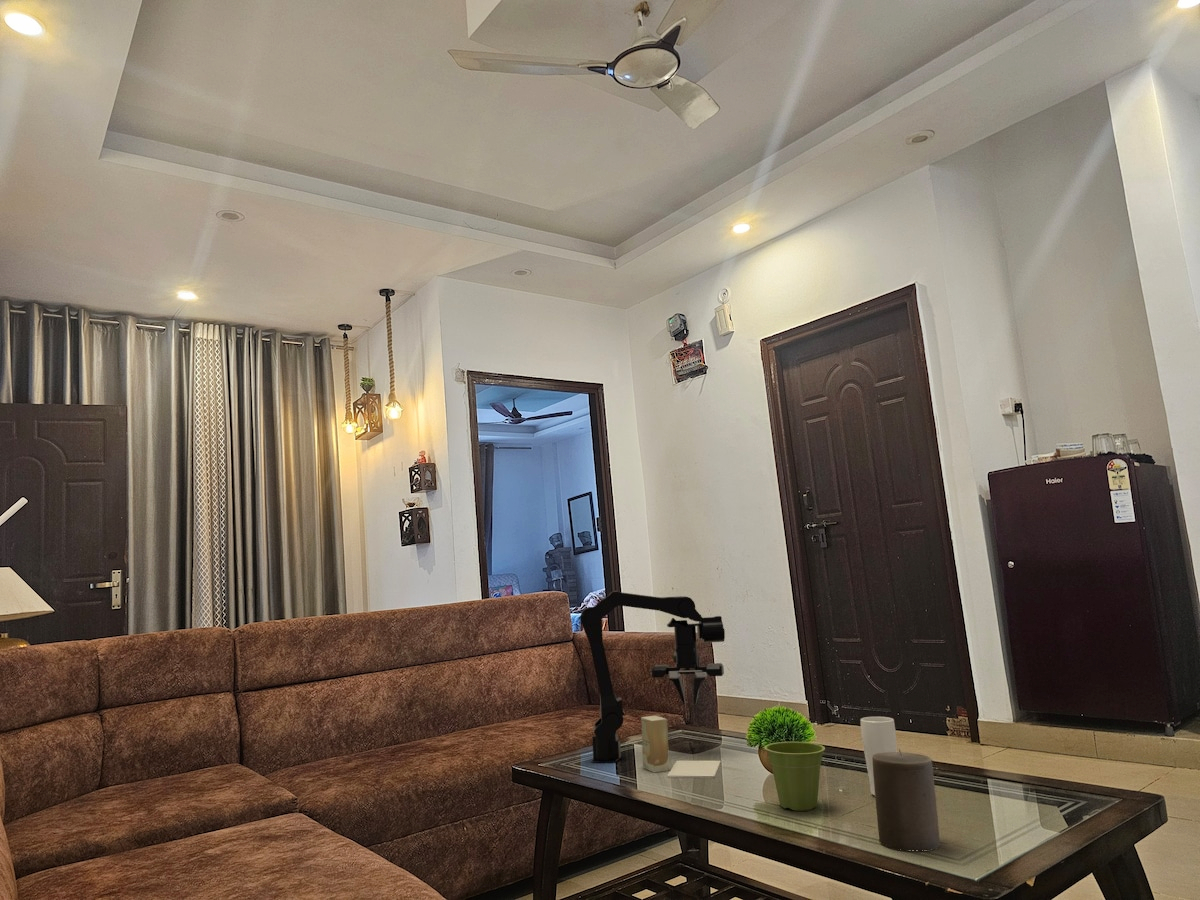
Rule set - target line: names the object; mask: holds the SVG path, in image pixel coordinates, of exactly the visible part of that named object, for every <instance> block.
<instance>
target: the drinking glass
mask: <svg viewBox="0 0 1200 900" xmlns="http://www.w3.org/2000/svg"><path fill="white" fill-rule="evenodd" d="M859 720H860V733H861V741H862V747H863V753H864V757H865V765H866V768H867V775H868V781H869V788H870V794H871V795H872V794H873V795H875V787H874V776H873V760H872V757H873V755H874V754H877V753H883V752H898V747H897V732H896V731H897V730H896V725H895V719H894V718H892V717H887V716H866V717H862V718H860V719H859ZM873 795H872V796H873Z"/></svg>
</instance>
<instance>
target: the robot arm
mask: <svg viewBox="0 0 1200 900" xmlns="http://www.w3.org/2000/svg"><path fill="white" fill-rule="evenodd" d="M618 606H621V607H630V608H637V609H643V610H652V611H659V612H662V613H666V614H668V615H672V616H675V617H678V618H681V620H677V619H675V618H674V617H672V618H671V619H670V621H669V622H668V623H667V624H666V626H667V628H673V629H674V642H675V643H674V645H675V651H674V652H673V663H674V665H676V666H675V667H674V666H673V667H672V666H671V667H670V665H669V664H656V665H654V666H653V667H652V668H651V678H655V679H656V678H664V677H665V676H667V675H668V681H670V682H672V683H673V685H674V687H675V688H676V690H677V692H678V694H679V697H680V699H681V702H682V704H683V705H686V695H685V689H684V683H683V676H682V675H690V674H691V675H695V677H694V678H693V704H694V705H697V702H698V698H699V695H700V694H699V692H700V689H701V686H702V683H703V681H706V680H707V679H708V676H709V677H723V675H725V671H724V670H725V668H724V665H723V663H721V662H720V663H715V662H713V663H707V664H706V666H701V665H700V655H699V653H698V645H697V640H701V641H702V643H703V644H705V643H721V642H722V643H724V642H725V639H726V638H725V635H726V634H725V633H726V631H725V628H724V623H723V618H722V616H721V615H715V616H712V617H710V616H707V617H703V616H702V614H700V613H699V612H698V611H697V609H696V604H695V601H694V600H693V599H692V598H691V597H689V596H678V595H677V596H664V597H662V596H661V597H658V596H653V595H644V594H636V593H628V592H623V591H622V592H621V591H619V590H614V591H613V590H612V591H611V592H610V593H609V594H608V595H607V596H606V597H604V598H603V599H602V600H601V601H599V602H598V603H597V604H596V605H594V606H589V607H585V608H584V609H583V610H582V612H581V613H580V615H579V616H580V618H579V619H580V623H581V626H582V629H583V630H584V631H583V632H584V633H585V636H586V638H587V641H588V644H589V647H590V651H591V657H592V661H593V666H594V667H593V668H594V670H595V671H594V672H595V676H596V679H597V685H598V690H599V699H600V702H599V705H600V718H598V720H597V721H596V722H595V723H594V724H593V731H594V732H593V733H594V735H592V738H591V739H592V740H591V741H592V759H591V762H592V761H601V762H600V763H616V762H617V761H619V759H621V757H622V750H621V740H620V739H619V734H618V733H617V731H618V730H619V729H620V728H622V725H623V724H624V717H626V713H625V710H624V707H623V699H622V697H621V696H620V697H616V695H615V692H614V689H613V688H614V687H613V684H612V679H611V675H610V670H609V664H608V661H607V656H606V650H605V647H604V646H605V645H604V641H603V639H604V638H603V637H604V636H603V618H604V617H606V616H607V615H609V614H610V613H612V611H613V610H615V609H616V608H617V607H618ZM683 619H685V620H683ZM686 619H688V620H691V621H693V622H696V623H688V620H686ZM697 622H698V623H697ZM696 627H697V629H696ZM697 638H698V639H697Z"/></svg>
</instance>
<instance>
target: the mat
mask: <svg viewBox="0 0 1200 900" xmlns="http://www.w3.org/2000/svg"><path fill="white" fill-rule="evenodd" d="M721 763H722V761H721V760H676V762H675V763H674V764H673V766H672V768H671V770H669V772H668V774H667V777H666V778H688V779H689V778H693V779H694V778H697V779H700V778H702V779H705V778H706V779H708V778H709V779H712V778H713V779H715V777H716V775H717V772H718V770H719V768H720V766H721Z"/></svg>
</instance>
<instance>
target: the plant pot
mask: <svg viewBox="0 0 1200 900" xmlns="http://www.w3.org/2000/svg"><path fill="white" fill-rule="evenodd" d="M764 750H765V751H767V757H768V759H769V760H768V761H769V763H770V764H771V769H772V774H773V778H774V779H773V780H774V782H775V784H774V785H775V788H776V793H777V797H778V803H779V806H780V807H782V808H783V809H787V808H788V809H790V810H792V811H795V812H796V811H797V812H798V811H799V812H801V811H804V812H805V811H811V810H813V809H815V808H817V807H818V802H819V801H818V800H819V787H820V775H821V764H822V763H823V762H822V761H823V752H825V751H826V748H825V746H823V745H822V744H819V743H814V742H807V741H781V742H772V743H768V744H766V745H765V746H764Z"/></svg>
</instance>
